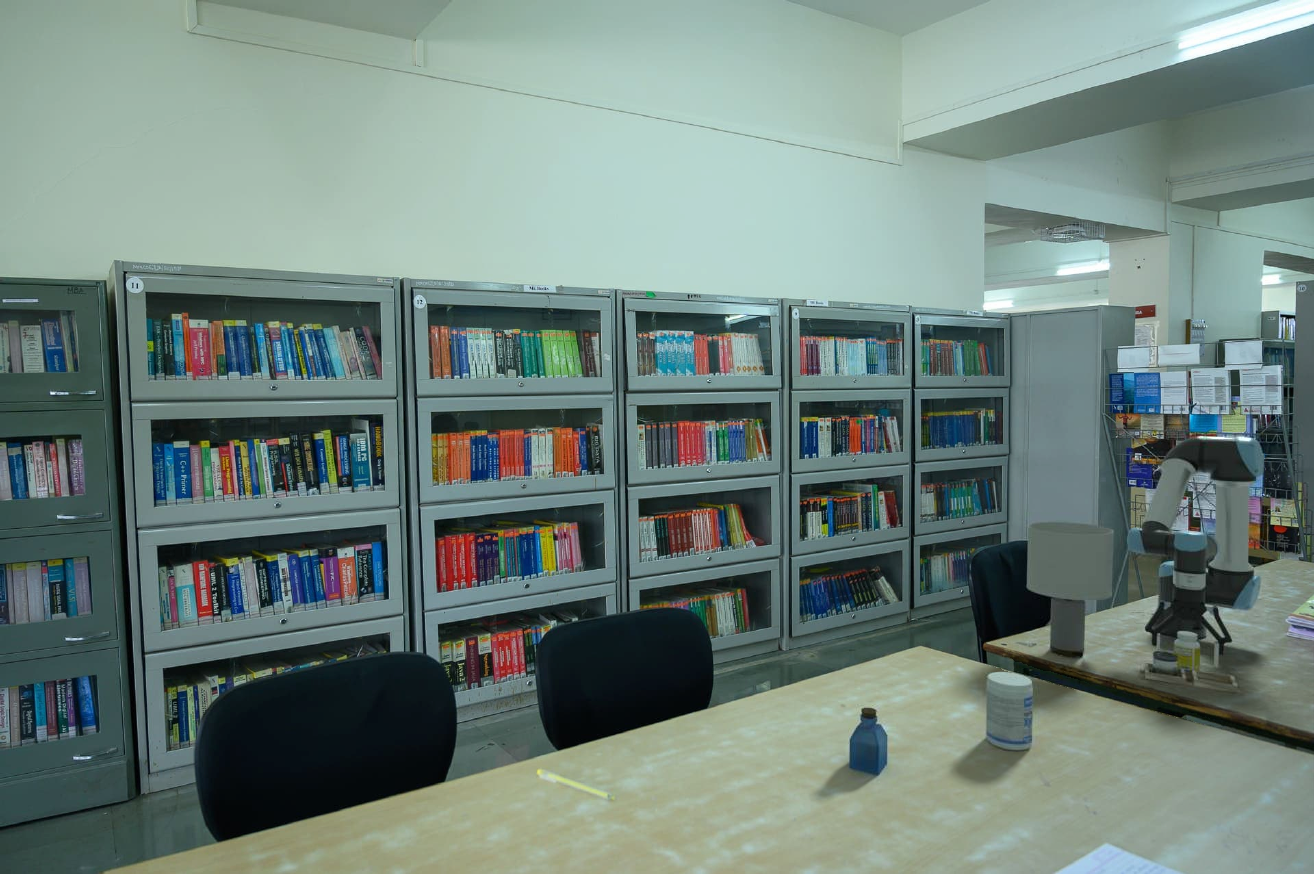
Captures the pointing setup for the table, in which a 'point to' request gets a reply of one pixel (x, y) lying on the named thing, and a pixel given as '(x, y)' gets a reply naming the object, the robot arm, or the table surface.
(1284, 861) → the table surface
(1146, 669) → the socket board
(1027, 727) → the supplement tub
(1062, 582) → the lamp
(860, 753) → the perfume bottle
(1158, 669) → the small lidded jar
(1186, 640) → the pill bottle
